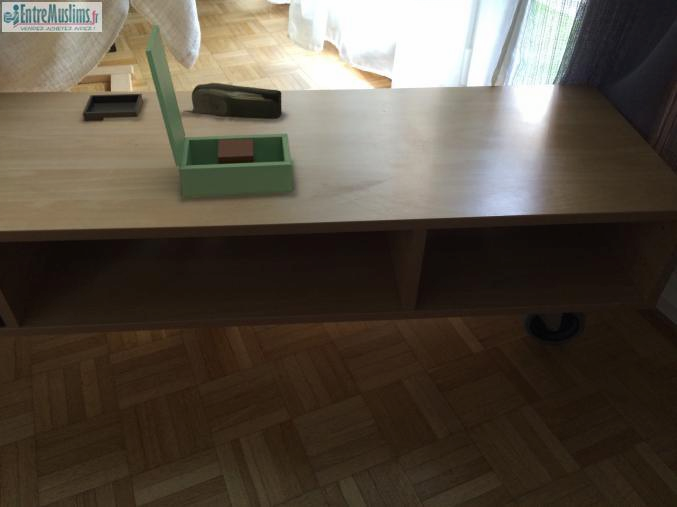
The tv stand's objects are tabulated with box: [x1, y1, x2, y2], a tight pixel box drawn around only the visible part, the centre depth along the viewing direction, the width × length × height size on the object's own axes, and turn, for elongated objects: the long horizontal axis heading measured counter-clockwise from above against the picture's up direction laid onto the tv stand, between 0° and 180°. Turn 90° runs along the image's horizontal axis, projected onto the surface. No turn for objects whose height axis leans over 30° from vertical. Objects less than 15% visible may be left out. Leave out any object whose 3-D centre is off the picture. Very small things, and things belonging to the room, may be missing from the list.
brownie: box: [218, 139, 254, 164], centre depth 79 cm, size 4×4×4 cm
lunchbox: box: [178, 133, 293, 198], centre depth 79 cm, size 14×8×5 cm, turn 97°
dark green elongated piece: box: [183, 82, 283, 120], centre depth 93 cm, size 5×3×15 cm
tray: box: [82, 93, 144, 122], centre depth 95 cm, size 8×6×2 cm
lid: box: [145, 24, 186, 167], centre depth 72 cm, size 14×8×1 cm
